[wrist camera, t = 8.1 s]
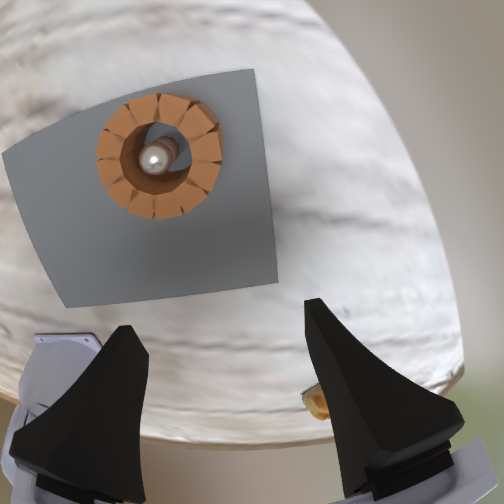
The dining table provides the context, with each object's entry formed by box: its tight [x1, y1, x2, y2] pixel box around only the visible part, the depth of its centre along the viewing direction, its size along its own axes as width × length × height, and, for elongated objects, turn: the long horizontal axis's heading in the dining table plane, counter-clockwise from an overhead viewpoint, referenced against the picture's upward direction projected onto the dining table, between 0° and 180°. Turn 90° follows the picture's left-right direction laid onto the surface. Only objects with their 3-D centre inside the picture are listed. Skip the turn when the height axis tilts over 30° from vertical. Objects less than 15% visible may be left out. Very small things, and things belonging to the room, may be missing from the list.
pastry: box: [302, 383, 330, 420], centre depth 30 cm, size 9×7×4 cm
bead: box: [96, 93, 224, 220], centre depth 13 cm, size 6×6×4 cm
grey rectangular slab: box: [2, 69, 279, 308], centre depth 17 cm, size 18×14×2 cm
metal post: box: [139, 131, 185, 175], centre depth 12 cm, size 2×2×4 cm
